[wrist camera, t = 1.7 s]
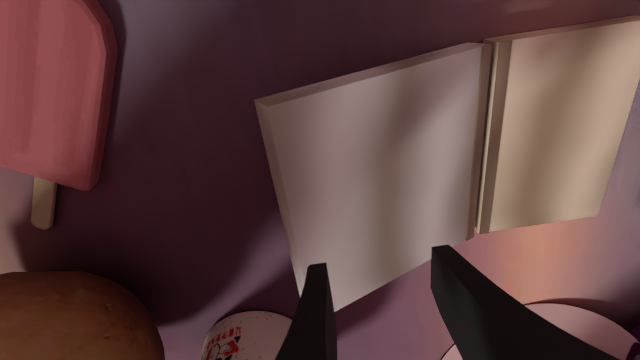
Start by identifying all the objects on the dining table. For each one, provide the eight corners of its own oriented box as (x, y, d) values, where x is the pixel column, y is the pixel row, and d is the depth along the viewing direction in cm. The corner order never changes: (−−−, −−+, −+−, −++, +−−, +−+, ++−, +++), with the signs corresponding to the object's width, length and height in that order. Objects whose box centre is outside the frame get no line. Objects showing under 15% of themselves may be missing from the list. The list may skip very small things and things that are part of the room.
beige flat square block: (467, 42, 18) (493, 44, 17) (455, 225, 24) (474, 236, 23) (253, 99, 14) (267, 107, 13) (301, 305, 20) (314, 324, 19)
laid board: (632, 15, 19) (660, 17, 17) (581, 203, 24) (599, 216, 23) (483, 38, 19) (498, 42, 17) (467, 220, 24) (478, 234, 23)
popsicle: (-17, 221, 21) (-15, -49, 15) (3, 207, 22) (12, -46, 16) (79, 247, 22) (118, 8, 16) (92, 232, 24) (132, 7, 17)
